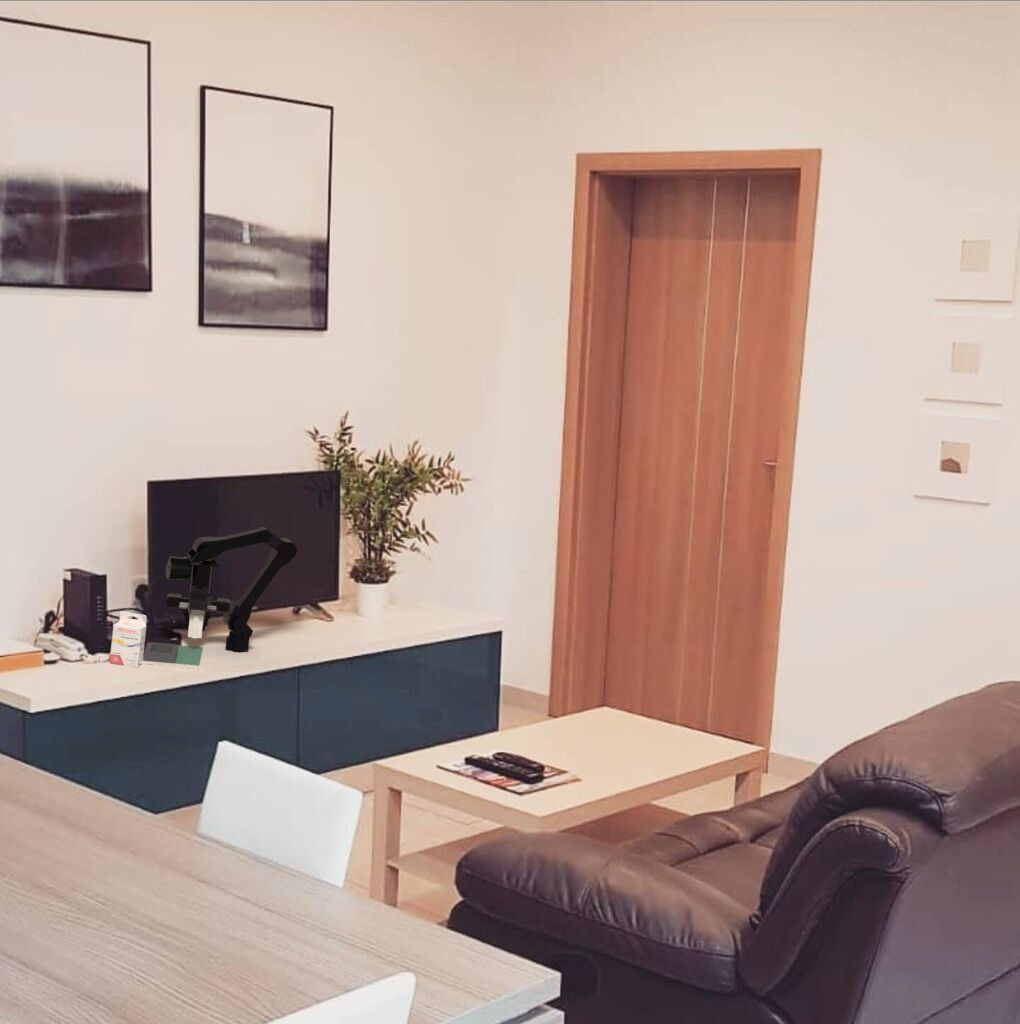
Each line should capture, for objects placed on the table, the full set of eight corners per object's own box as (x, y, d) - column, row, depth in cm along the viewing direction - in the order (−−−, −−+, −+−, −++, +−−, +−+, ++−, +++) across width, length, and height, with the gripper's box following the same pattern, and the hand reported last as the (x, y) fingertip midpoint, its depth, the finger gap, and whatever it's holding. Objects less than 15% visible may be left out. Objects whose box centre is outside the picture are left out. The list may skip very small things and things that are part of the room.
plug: (202, 633, 467) (204, 610, 466) (201, 639, 460) (203, 616, 459) (189, 631, 466) (191, 609, 465) (187, 637, 460) (189, 615, 458)
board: (202, 650, 468) (203, 639, 467) (198, 668, 449) (200, 657, 448) (149, 646, 465) (150, 634, 465) (143, 664, 446) (144, 652, 445)
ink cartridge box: (108, 663, 442) (113, 614, 440) (114, 659, 447) (119, 610, 445) (137, 668, 441) (142, 618, 439) (143, 663, 446) (147, 614, 444)
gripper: (167, 582, 452) (162, 634, 454) (231, 589, 455) (225, 639, 457) (170, 574, 463) (165, 624, 465) (232, 580, 466) (227, 630, 468)
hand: (195, 630), depth 464 cm, fingers closed on plug, 4 cm apart
